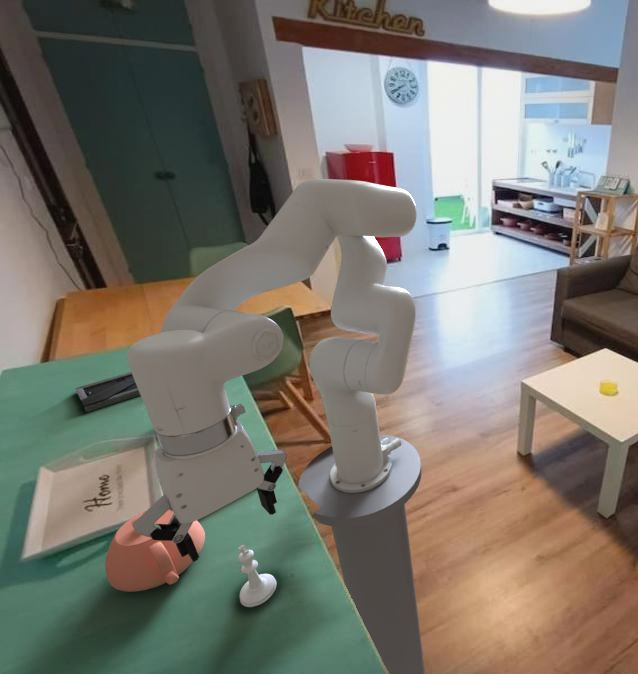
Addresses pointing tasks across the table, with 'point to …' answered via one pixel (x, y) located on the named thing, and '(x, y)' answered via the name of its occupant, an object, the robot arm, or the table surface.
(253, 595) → the chess piece
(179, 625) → the table surface
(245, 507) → the table surface
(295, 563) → the table surface
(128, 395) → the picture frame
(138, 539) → the sugar bowl
